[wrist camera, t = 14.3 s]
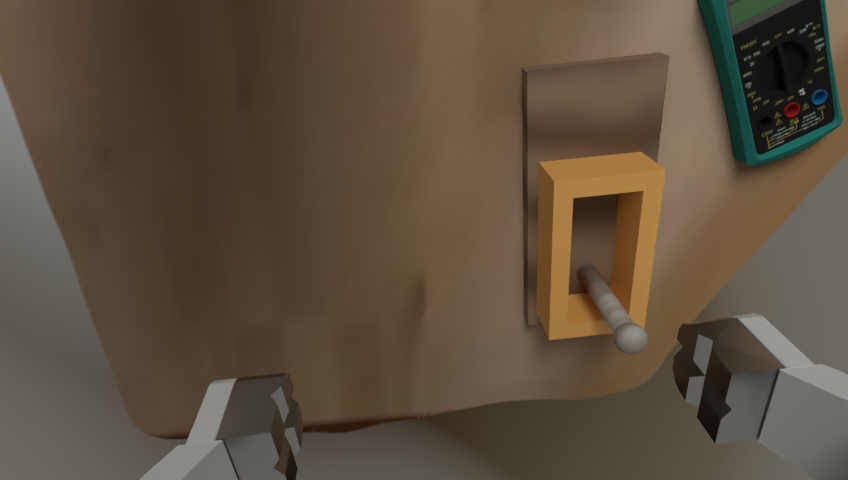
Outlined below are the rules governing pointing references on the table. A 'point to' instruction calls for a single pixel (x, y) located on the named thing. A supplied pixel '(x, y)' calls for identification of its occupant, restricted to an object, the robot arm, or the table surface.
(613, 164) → the orange rectangular frame
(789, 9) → the digital multimeter
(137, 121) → the table surface
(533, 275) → the keeper board
